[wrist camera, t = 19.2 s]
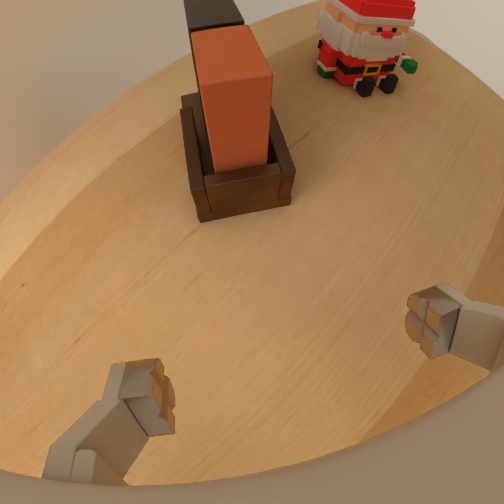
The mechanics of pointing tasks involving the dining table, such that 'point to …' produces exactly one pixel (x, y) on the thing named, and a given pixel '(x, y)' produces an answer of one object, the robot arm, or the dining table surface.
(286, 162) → the mount
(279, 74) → the dining table surface
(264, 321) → the dining table surface
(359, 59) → the figurine
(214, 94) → the orange rectangular block
